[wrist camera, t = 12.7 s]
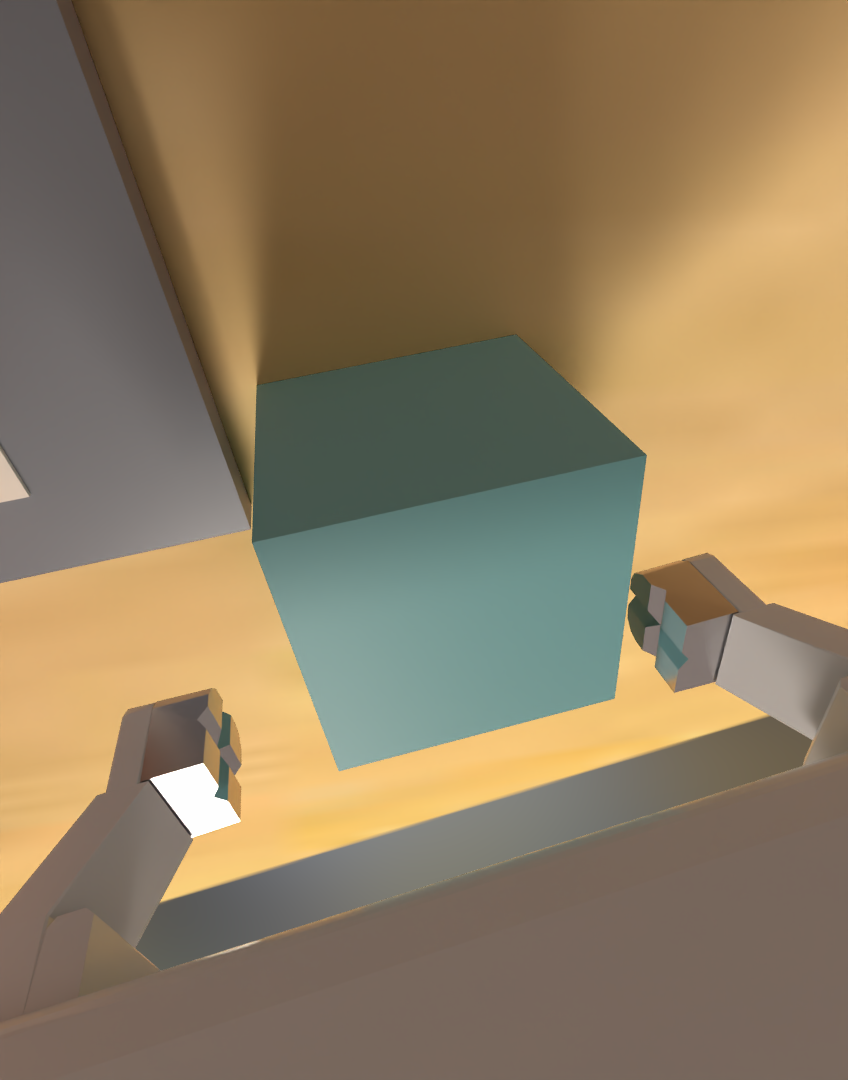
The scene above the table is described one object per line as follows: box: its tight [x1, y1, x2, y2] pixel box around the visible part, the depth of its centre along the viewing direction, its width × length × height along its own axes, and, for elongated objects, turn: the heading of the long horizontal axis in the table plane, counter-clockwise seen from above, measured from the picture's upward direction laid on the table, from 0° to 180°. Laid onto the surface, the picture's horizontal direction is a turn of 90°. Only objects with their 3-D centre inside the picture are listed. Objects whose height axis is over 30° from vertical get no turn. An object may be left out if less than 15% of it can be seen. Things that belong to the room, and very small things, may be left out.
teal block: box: [252, 335, 647, 771], centre depth 13 cm, size 6×6×6 cm
